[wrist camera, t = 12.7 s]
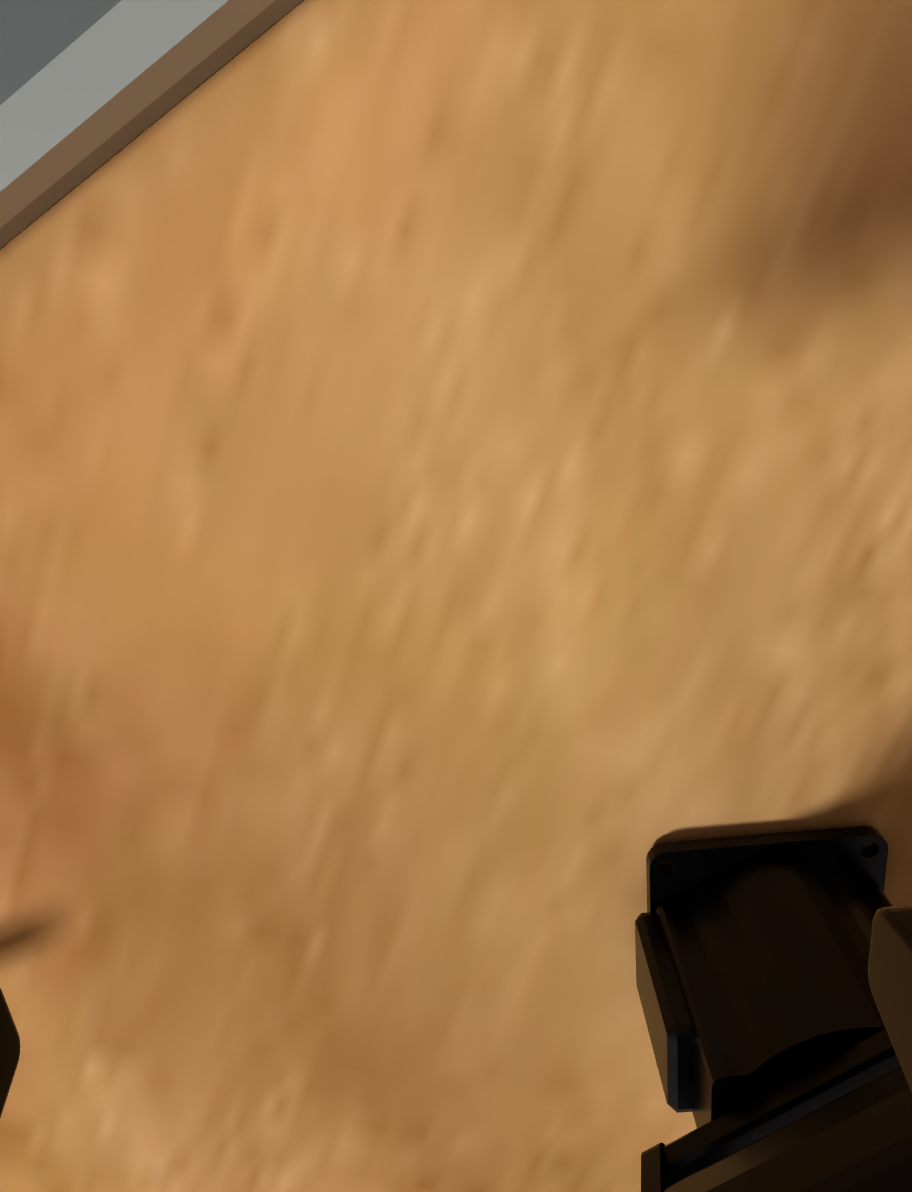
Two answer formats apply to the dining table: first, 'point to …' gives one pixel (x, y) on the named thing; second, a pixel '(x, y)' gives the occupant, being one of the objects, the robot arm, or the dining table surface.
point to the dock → (101, 82)
